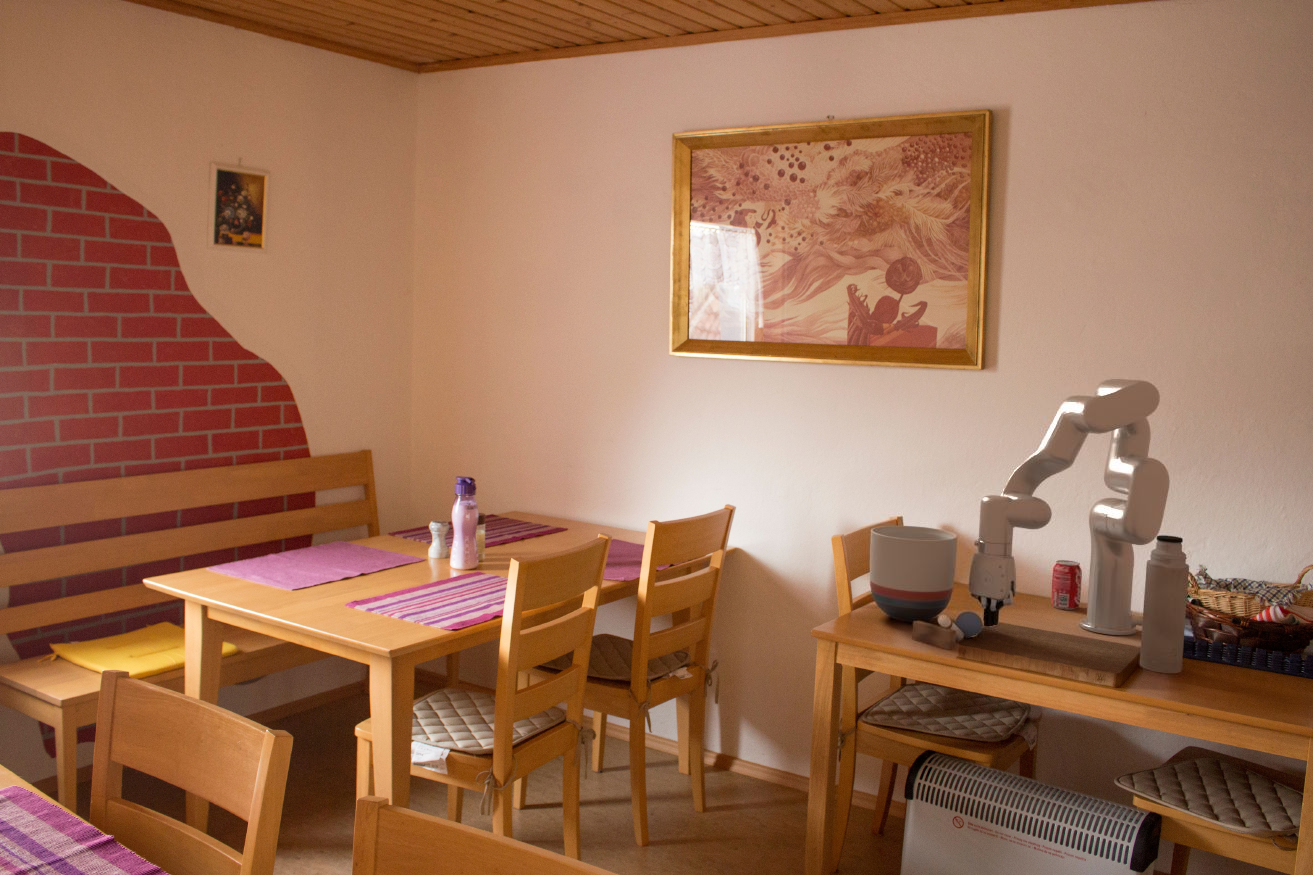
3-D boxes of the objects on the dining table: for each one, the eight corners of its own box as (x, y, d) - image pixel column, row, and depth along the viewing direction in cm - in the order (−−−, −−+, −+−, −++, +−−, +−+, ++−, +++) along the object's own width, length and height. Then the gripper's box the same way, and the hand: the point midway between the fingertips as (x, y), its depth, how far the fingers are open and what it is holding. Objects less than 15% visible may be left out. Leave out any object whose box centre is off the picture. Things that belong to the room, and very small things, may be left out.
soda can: (1074, 605, 269) (1077, 560, 269) (1083, 611, 262) (1086, 565, 262) (1047, 603, 270) (1050, 558, 269) (1054, 610, 263) (1057, 564, 262)
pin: (964, 629, 232) (948, 613, 227) (964, 639, 231) (948, 623, 225) (953, 631, 233) (937, 615, 228) (953, 641, 232) (937, 625, 227)
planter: (864, 606, 261) (868, 523, 259) (946, 611, 258) (951, 528, 256) (869, 627, 241) (873, 537, 239) (958, 633, 238) (963, 542, 236)
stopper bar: (912, 638, 232) (913, 621, 231) (917, 637, 233) (918, 620, 233) (949, 649, 224) (950, 631, 224) (954, 648, 225) (955, 630, 225)
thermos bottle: (1147, 659, 221) (1157, 531, 219) (1187, 668, 215) (1196, 537, 213) (1133, 666, 215) (1142, 535, 213) (1173, 675, 210) (1183, 541, 208)
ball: (961, 623, 230) (965, 646, 232) (985, 614, 231) (989, 637, 233) (948, 612, 236) (953, 634, 238) (972, 603, 236) (976, 625, 238)
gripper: (958, 544, 242) (953, 621, 243) (1014, 555, 230) (1009, 635, 231) (976, 542, 246) (972, 616, 248) (1033, 552, 235) (1028, 630, 236)
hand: (990, 625), depth 240 cm, fingers closed
